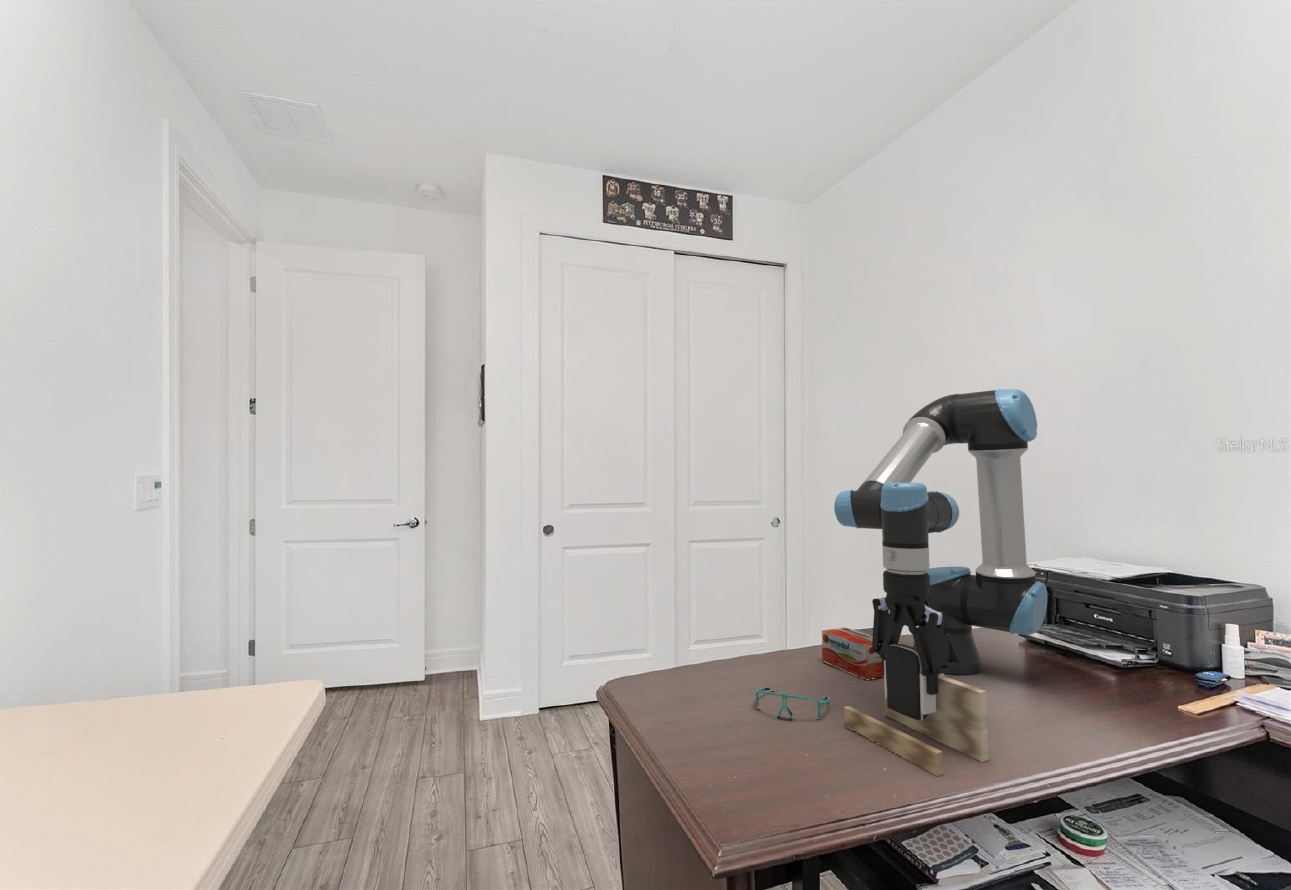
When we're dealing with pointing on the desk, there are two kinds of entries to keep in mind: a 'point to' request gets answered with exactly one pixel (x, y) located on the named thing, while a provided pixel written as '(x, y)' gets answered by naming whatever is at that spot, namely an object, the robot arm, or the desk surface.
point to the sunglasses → (764, 689)
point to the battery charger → (904, 680)
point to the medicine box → (851, 652)
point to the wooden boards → (933, 726)
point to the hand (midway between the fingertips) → (909, 704)
